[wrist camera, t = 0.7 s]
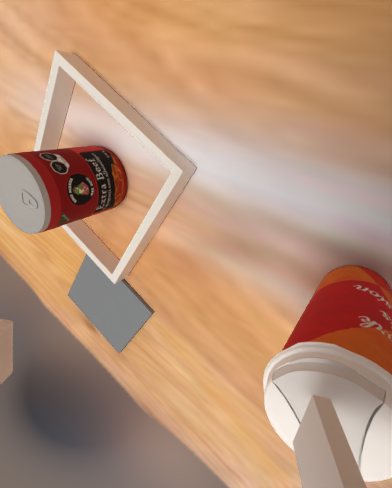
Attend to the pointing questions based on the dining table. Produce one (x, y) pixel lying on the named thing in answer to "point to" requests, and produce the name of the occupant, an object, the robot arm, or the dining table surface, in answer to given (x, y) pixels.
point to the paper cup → (340, 366)
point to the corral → (54, 114)
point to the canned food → (59, 186)
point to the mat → (109, 304)
